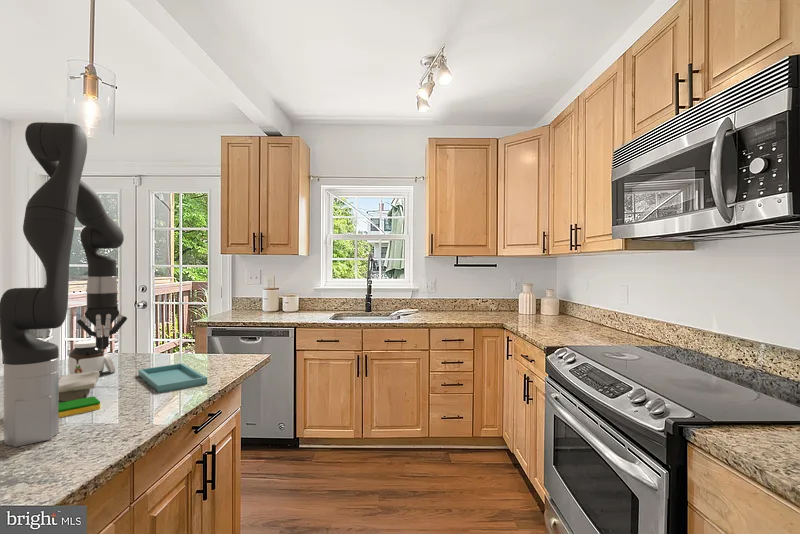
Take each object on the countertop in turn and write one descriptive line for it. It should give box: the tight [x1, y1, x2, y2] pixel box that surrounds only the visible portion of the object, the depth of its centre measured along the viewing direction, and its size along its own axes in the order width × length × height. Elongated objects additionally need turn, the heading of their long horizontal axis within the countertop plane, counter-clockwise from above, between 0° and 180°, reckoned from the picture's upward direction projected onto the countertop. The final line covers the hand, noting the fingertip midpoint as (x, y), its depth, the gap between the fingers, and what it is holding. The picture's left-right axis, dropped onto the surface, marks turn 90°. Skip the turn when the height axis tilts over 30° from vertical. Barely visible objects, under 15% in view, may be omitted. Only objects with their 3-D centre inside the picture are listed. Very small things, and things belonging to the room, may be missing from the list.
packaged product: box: [59, 371, 101, 402], centre depth 124 cm, size 18×5×10 cm
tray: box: [137, 362, 208, 394], centre depth 141 cm, size 26×14×2 cm, turn 43°
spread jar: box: [67, 339, 116, 375], centre depth 147 cm, size 12×11×12 cm
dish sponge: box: [59, 395, 101, 418], centre depth 110 cm, size 7×14×2 cm, turn 137°
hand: (102, 349), depth 127 cm, fingers closed
